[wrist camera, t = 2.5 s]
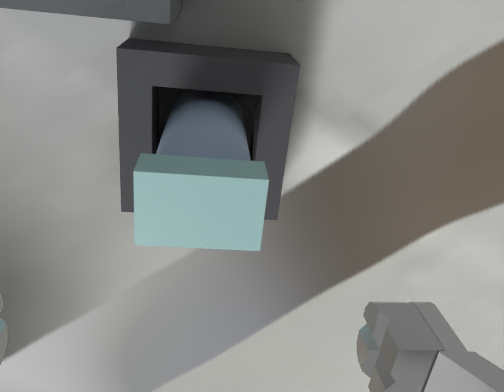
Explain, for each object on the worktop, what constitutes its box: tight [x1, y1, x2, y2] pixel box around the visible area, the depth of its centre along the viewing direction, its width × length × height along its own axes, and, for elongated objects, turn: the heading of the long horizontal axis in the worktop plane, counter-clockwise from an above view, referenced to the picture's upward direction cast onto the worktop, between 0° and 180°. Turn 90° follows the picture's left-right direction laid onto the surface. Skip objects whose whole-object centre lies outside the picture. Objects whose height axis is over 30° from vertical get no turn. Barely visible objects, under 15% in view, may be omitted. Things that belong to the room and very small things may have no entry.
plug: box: [133, 89, 269, 251], centre depth 20 cm, size 4×4×10 cm
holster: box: [117, 38, 299, 220], centre depth 23 cm, size 8×8×3 cm
